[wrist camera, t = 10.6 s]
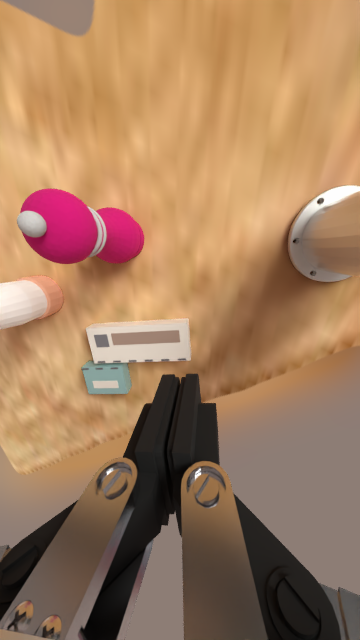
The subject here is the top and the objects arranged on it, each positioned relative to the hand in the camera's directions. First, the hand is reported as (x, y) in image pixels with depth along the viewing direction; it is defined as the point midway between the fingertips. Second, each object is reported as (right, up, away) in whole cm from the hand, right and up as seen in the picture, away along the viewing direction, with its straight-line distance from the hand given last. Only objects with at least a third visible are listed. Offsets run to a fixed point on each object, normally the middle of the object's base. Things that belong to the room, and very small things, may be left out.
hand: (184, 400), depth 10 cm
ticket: (-7, 0, +29) cm, 30 cm away
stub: (-14, -7, +32) cm, 36 cm away
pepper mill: (-9, +17, +23) cm, 30 cm away
